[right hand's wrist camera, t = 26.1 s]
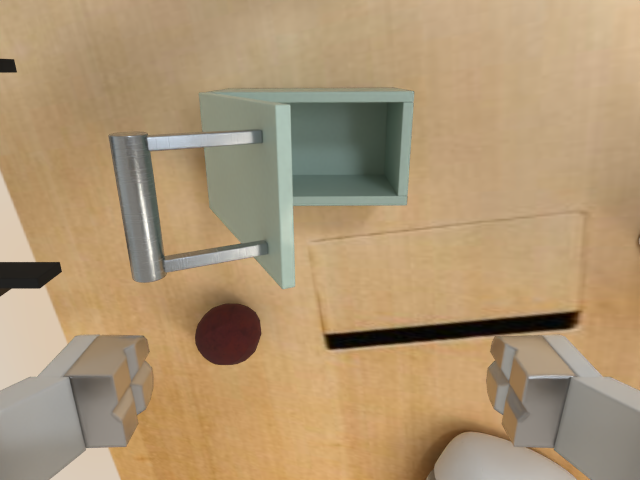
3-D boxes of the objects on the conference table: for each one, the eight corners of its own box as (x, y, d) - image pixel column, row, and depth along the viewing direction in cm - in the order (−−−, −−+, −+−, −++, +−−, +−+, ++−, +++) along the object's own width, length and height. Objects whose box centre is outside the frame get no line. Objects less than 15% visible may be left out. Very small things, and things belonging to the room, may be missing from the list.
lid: (290, 104, 22) (105, 110, 18) (295, 287, 25) (140, 320, 22) (208, 92, 37) (98, 94, 33) (218, 207, 40) (119, 219, 37)
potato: (192, 313, 56) (175, 345, 49) (240, 281, 54) (229, 309, 47) (230, 354, 58) (218, 390, 51) (277, 323, 56) (271, 357, 49)
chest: (395, 87, 46) (414, 91, 37) (390, 180, 50) (407, 205, 40) (228, 88, 46) (204, 92, 37) (234, 181, 50) (215, 206, 40)
